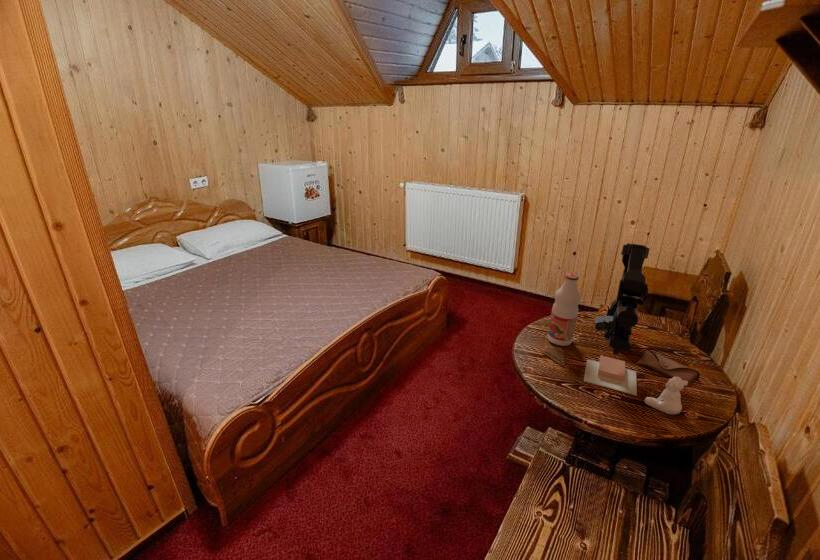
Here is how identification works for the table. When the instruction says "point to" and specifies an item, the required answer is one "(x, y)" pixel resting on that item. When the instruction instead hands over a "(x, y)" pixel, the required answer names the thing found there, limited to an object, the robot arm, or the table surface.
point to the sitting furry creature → (669, 397)
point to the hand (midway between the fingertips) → (615, 354)
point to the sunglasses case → (668, 367)
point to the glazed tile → (611, 369)
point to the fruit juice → (564, 312)
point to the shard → (555, 354)
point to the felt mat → (625, 387)
